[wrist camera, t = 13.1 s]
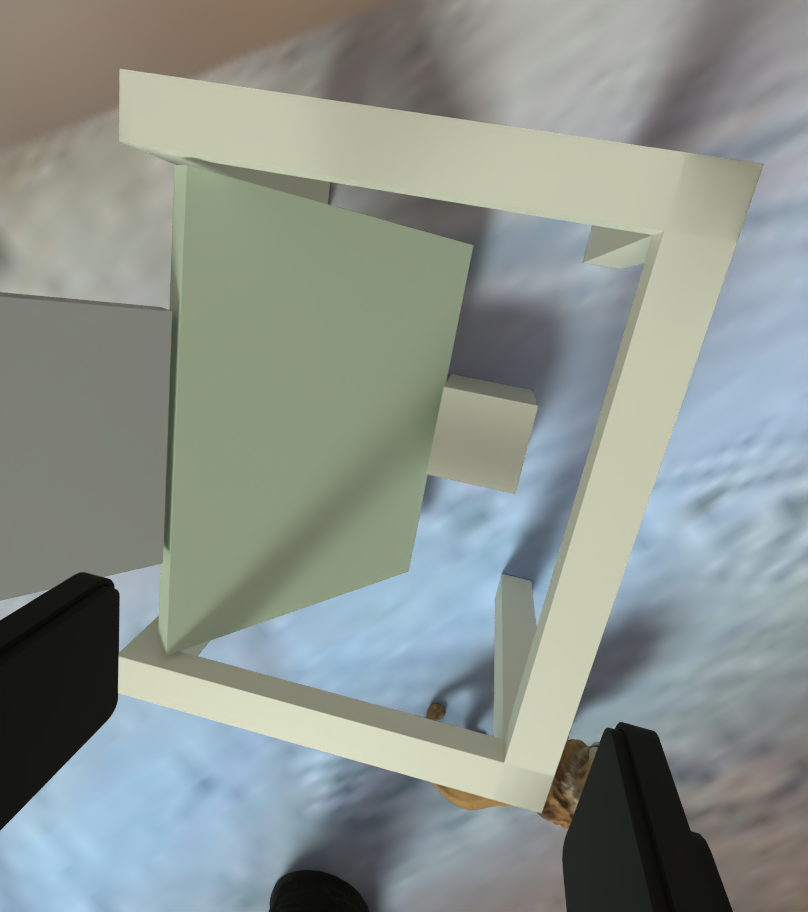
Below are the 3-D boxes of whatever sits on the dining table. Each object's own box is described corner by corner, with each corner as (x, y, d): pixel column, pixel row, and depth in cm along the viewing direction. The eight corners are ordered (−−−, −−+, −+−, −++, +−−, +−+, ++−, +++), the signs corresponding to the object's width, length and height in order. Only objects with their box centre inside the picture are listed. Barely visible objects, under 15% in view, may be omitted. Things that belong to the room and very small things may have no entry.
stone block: (451, 373, 33) (532, 389, 32) (436, 449, 35) (512, 466, 34) (443, 386, 28) (538, 405, 28) (426, 474, 30) (515, 494, 29)
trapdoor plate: (413, 238, 31) (473, 245, 28) (363, 539, 37) (408, 571, 34) (-591, -24, 11) (-754, -99, 8) (-341, 729, 17) (-381, 846, 14)
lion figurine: (601, 673, 37) (632, 785, 29) (619, 735, 38) (654, 860, 30) (403, 705, 41) (378, 814, 32) (425, 761, 42) (406, 880, 33)
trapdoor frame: (629, 230, 29) (763, 163, 14) (524, 605, 36) (541, 813, 22) (297, 175, 31) (119, 68, 16) (261, 542, 39) (115, 692, 24)
